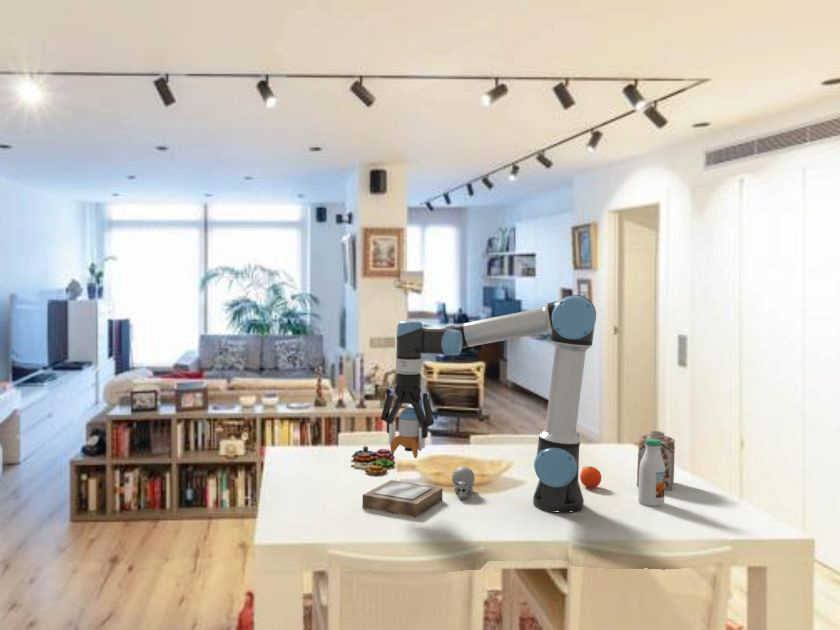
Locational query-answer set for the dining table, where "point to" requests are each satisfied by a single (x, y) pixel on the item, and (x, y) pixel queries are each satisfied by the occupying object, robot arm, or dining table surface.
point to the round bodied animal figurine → (463, 481)
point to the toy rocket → (408, 432)
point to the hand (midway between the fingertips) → (406, 446)
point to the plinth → (402, 498)
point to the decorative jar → (666, 453)
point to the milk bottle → (652, 475)
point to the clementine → (590, 477)
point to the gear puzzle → (373, 460)
